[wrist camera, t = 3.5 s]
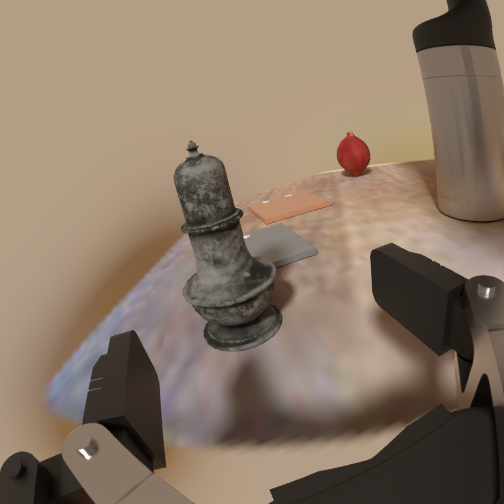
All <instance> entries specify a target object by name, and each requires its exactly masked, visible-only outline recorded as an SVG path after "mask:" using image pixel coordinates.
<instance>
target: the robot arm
mask: <svg viewBox="0 0 504 504" xmlns="http://www.w3.org/2000/svg"><path fill="white" fill-rule="evenodd" d="M447 4H448V9H449V11H448V12H447V13H445V14H443V15H441V16H439V17H436V18H433V19H430V20H428V21H425V22H423V23H421V24H419V25H418V26H417V27H416V28H415V29H414V30H413V40H414V45H415V48H416V52H417V56H418V60H419V64H420V69H421V73H422V78H423V83H424V88H425V93H426V98H427V104H428V110H429V116H430V123H431V129H432V137H433V146H434V155H435V166H436V179H437V196H438V208H439V209H440V211H441V212H443V213H445V214H447V215H449V216H452V217H455V218H459V219H464V220H471V221H493V220H499V219H502V218H504V86H503V81H502V76H501V71H500V66H499V62H498V57H497V53H496V48H495V44H494V40H493V33H492V22H491V16H490V12H489V9H488V6H487V2H486V0H447ZM370 261H371V276H372V292H373V296H374V299H375V301H376V302H377V304H378V305H379V306H380V307H381V308H382V309H383V310H385V311H386V312H387V313H388V314H389V315H391V316H392V317H393V318H394V319H396V320H397V321H398V322H399V323H400V324H402V325H403V326H404V327H405V328H406V329H408V330H409V331H410V332H411V333H412V334H414V335H415V336H416V337H417V338H418V339H420V340H421V341H422V342H423V343H424V344H426V345H427V346H428V347H429V348H430V349H431V350H433V351H434V352H435V353H436V354H437V355H438V356H441V355H442V354H444V353H445V352H447V351H448V350H450V349H451V348H452V349H453V350H455V352H454V357H453V361H454V369H455V378H456V389H457V411H454V412H451V413H450V412H449V411H448V410H447V409H446V408H445V407H444V406H443V405H442V404H441V405H439V406H438V407H436V408H435V409H433V410H432V411H430V412H429V413H427V414H426V415H424V416H423V417H421V418H420V419H418V420H417V421H415V422H413V423H412V424H410V425H408V426H407V427H406V428H405V429H404V430H403V431H402V432H401V433H400V434H399V435H397V436H396V437H395V438H394V439H393V440H392V441H391V442H390V443H389V444H388V445H387V446H386V447H384V448H383V449H382V450H381V451H380V452H379V453H378V454H377V455H376V456H374V457H373V458H371V459H369V460H366V461H362V462H359V463H355V464H351V465H347V466H343V467H338V468H334V469H329V470H324V471H319V472H316V473H313V474H311V475H308V476H306V477H304V478H301V479H298V480H296V481H293V482H290V483H287V484H285V485H282V486H279V487H276V488H273V489H270V492H271V494H272V497H273V499H274V501H272V502H271V503H269V504H504V282H503V281H501V280H500V279H498V278H495V277H492V276H486V275H481V276H475V277H472V278H471V279H469V280H468V279H466V278H464V277H463V276H461V275H459V274H457V273H455V272H453V271H452V270H450V269H448V268H446V267H444V266H440V264H439V263H437V262H435V261H433V262H432V260H431V259H429V258H427V257H425V256H423V255H421V254H417V253H413V252H409V251H407V250H405V249H403V248H401V247H399V246H397V245H395V244H393V243H389V244H387V245H384V246H382V247H379V248H376V249H374V250H372V252H371V255H370ZM165 467H166V461H165V451H164V441H163V429H162V417H161V402H160V385H159V380H158V376H157V373H156V371H155V368H154V366H153V364H152V363H151V361H150V359H149V357H148V355H147V353H146V351H145V349H144V347H143V345H142V343H141V341H140V339H139V337H138V335H137V334H136V332H135V331H134V330H131V331H128V332H125V333H121V334H118V335H114V336H111V338H110V342H109V347H108V352H107V354H105V355H102V356H101V357H100V358H99V360H98V361H97V362H96V364H95V365H94V367H93V370H92V375H91V382H90V385H89V392H88V395H87V400H86V405H85V411H84V417H83V423H82V425H81V426H79V427H77V428H76V429H74V430H73V431H72V432H71V433H70V434H69V435H68V436H67V437H66V439H65V441H64V443H63V446H62V453H61V454H58V455H56V456H54V457H51V458H49V459H46V460H44V461H42V462H39V461H38V460H37V459H36V458H35V457H34V456H33V455H32V454H30V453H28V452H18V453H15V454H13V455H12V456H10V457H9V458H8V459H7V460H6V461H5V462H4V464H3V466H2V468H1V471H0V504H195V503H193V502H192V501H190V500H189V499H188V498H186V497H185V496H184V495H182V494H181V493H180V492H179V491H177V490H176V489H175V488H173V487H172V486H171V485H170V484H168V483H167V482H166V481H165V480H163V479H162V478H161V477H160V476H159V475H157V474H156V473H155V472H154V470H155V469H160V468H165Z"/></svg>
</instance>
